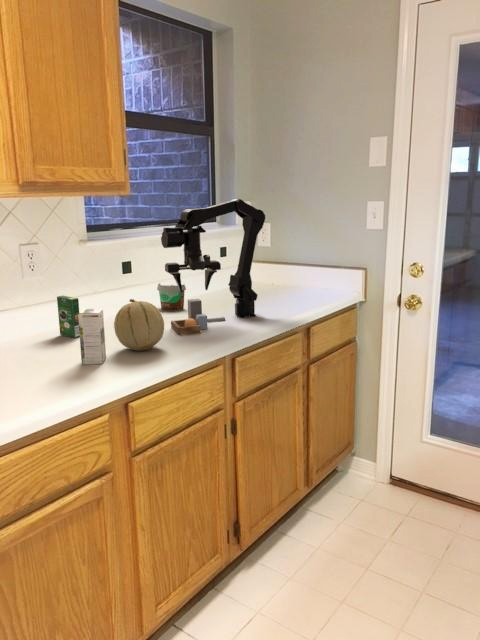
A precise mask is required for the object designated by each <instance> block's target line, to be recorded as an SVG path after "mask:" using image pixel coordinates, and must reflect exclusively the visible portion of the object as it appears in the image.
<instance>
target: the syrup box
mask: <svg viewBox="0 0 480 640" xmlns="http://www.w3.org/2000/svg"><path fill="white" fill-rule="evenodd" d="M78 319H79V333H80V337H79V342H80V345H79V347H80V356H81V365H82V366H83V365H84V366H85V365H90V366H91V365H103V364H104V362H105V360H106V358H107V353H106V352H107V351H106V336H105V335H106V334H105V321H104V320H105V319H104V309H103V308H92V307H91V308H84V309H83V308H82V310H81V311H79V314H78Z"/></svg>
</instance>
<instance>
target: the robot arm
mask: <svg viewBox="0 0 480 640" xmlns="http://www.w3.org/2000/svg"><path fill="white" fill-rule="evenodd" d="M233 212H234V213H235V214H236V215H237V216H238V217H239V218H241V219H242V230H243V237H242V243H241V248H240V253H239V260H238V265H237V270H236V272H235V273H234V274H230V275H229V283H228V286H229V291H230V293H231V294H232V295H233V298H234V299H235V303H234V315H235V316H237V317H238V318H250V317H257V314H255V312H256V311H255V309H256V308H255V302H256V301H257V299H258V293H257V292H255V291H254V290H253V289H252V288H253V287H252V286H253V280H252V277H251V270H252V264H253V259H254V253H255V249H256V244H257V243H256V242H257V238H258V234H259V233H260V232H261V230H262V229H263V228H264V223H265V221H266V214H265V212H264V211H263V210H261V209H258V208H256V207H254V206H252V205H250V204H249V203H248V202H245V201H244V200H243V199H241V198H235V199H234V198H233V199H231V200H228V201H224V202H221V203H218V204H217V203H216V204H215V205H209V206H207V207H203V208H202V207H201V208H187V209H184V210H182V211H181V213H180V218H179V220H178V221H177V223H176V225H175V226H174V227H166V226H165V227H163V230H162V233H161V237H160V240H161V241H160V242H161V245H162V247H163V248H164V249H169V248H170V249H171V248H181V247H182V246H183V255H184V256H183V257H184V258H183V259H184V260H183V264H179V263H178V262H166V263H165V264H164V272H166V273H169V274H170V275H171V276H172V277H173V279H174V280H175V283H176V286H178V288H179V290H180V292H182V286H181V285H182V279H181V272H180V271H182V270H183V271H184V270H191V271H197V270H201V271H204V288H205V291H208V289H209V286H210V282H211V280H212V277H213V276H214V274H215V273H217V272H218V271H220V270H222V268H221V265H222V264H221V263H220V261H218V260H211V256H210V255H211V254H202V249H201V248H202V247H201V233H203V234H204V233H206V232H207V231H206V229H205V228H204V227H202V225H203V224H204V223H206V222H207V221H209V220H211V219H212V218H213V219H214V218H216V217H220V216H223V215H226V214H231V213H233Z"/></svg>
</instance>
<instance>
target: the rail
mask: <svg viewBox="0 0 480 640" xmlns="http://www.w3.org/2000/svg"><path fill="white" fill-rule="evenodd" d="M223 321H226V317H224V316H222V317H212V318H210V317H209V318H207V323H213V322H215V323H216V322H223Z"/></svg>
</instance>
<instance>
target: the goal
mask: <svg viewBox="0 0 480 640" xmlns="http://www.w3.org/2000/svg"><path fill="white" fill-rule="evenodd" d="M187 319H188V318H185V319H175V320H170V327H171V328H170V329H172V330H173V331H174V332H175V333H176V334H177V336H185V335H196V334H201V333H202V332H201V331H202V329H201V327H200V325H195V326H185V321H186V320H187Z"/></svg>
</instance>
